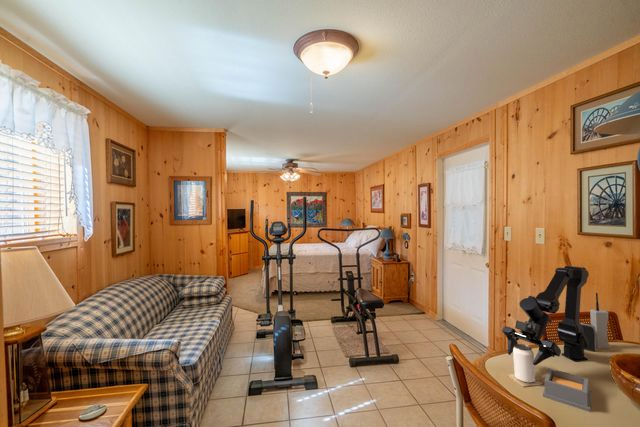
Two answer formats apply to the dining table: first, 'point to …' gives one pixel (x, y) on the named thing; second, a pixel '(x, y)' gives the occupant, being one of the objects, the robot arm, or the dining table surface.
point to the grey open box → (567, 390)
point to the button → (567, 383)
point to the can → (524, 363)
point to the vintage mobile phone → (600, 326)
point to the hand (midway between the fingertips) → (520, 359)
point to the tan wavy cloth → (524, 382)
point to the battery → (589, 335)
